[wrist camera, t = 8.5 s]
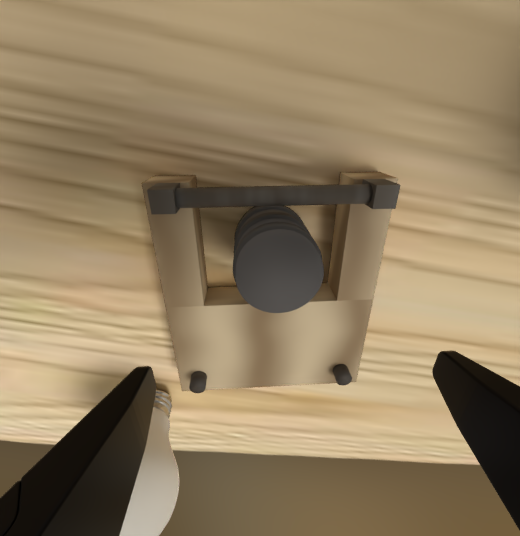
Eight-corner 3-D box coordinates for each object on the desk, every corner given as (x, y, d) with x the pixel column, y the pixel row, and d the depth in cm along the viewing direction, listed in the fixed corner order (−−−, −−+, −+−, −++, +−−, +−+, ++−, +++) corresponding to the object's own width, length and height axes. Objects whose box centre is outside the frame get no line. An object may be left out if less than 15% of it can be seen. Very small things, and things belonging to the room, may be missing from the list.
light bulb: (181, 360, 24) (139, 522, 14) (204, 410, 27) (182, 572, 17) (106, 375, 24) (15, 544, 14) (137, 422, 27) (79, 589, 17)
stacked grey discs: (305, 199, 18) (331, 230, 13) (301, 264, 20) (322, 313, 15) (233, 201, 18) (229, 233, 13) (236, 266, 20) (234, 317, 15)
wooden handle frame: (379, 171, 18) (416, 184, 14) (346, 359, 25) (364, 401, 21) (154, 176, 17) (129, 190, 13) (187, 367, 24) (177, 411, 21)
